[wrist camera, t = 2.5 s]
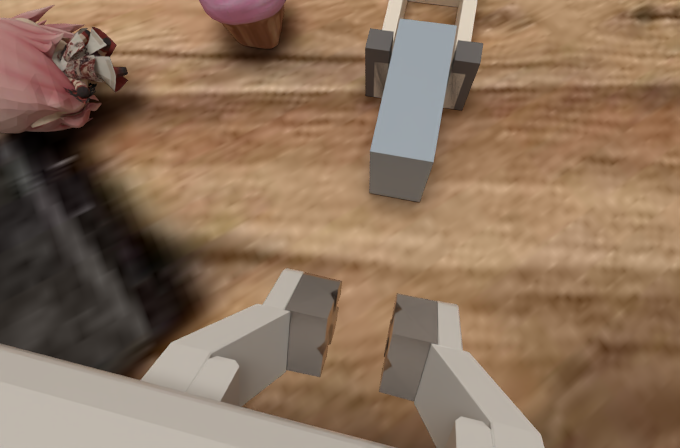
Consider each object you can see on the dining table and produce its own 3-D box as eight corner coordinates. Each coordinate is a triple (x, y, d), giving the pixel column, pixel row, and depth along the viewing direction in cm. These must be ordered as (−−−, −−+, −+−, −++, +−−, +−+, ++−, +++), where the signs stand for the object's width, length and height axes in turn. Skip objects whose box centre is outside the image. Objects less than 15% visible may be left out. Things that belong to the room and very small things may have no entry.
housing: (461, 110, 38) (487, 45, 30) (365, 95, 40) (365, 29, 32) (479, 0, 42) (505, -84, 34) (390, -10, 43) (396, -94, 35)
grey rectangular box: (419, 202, 36) (433, 162, 28) (369, 192, 36) (370, 151, 29) (440, 88, 39) (457, 25, 32) (393, 81, 40) (400, 18, 32)
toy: (135, 17, 43) (-12, 44, 42) (74, -54, 32) (-125, -21, 31) (159, 128, 43) (13, 157, 42) (106, 94, 32) (-93, 132, 31)
